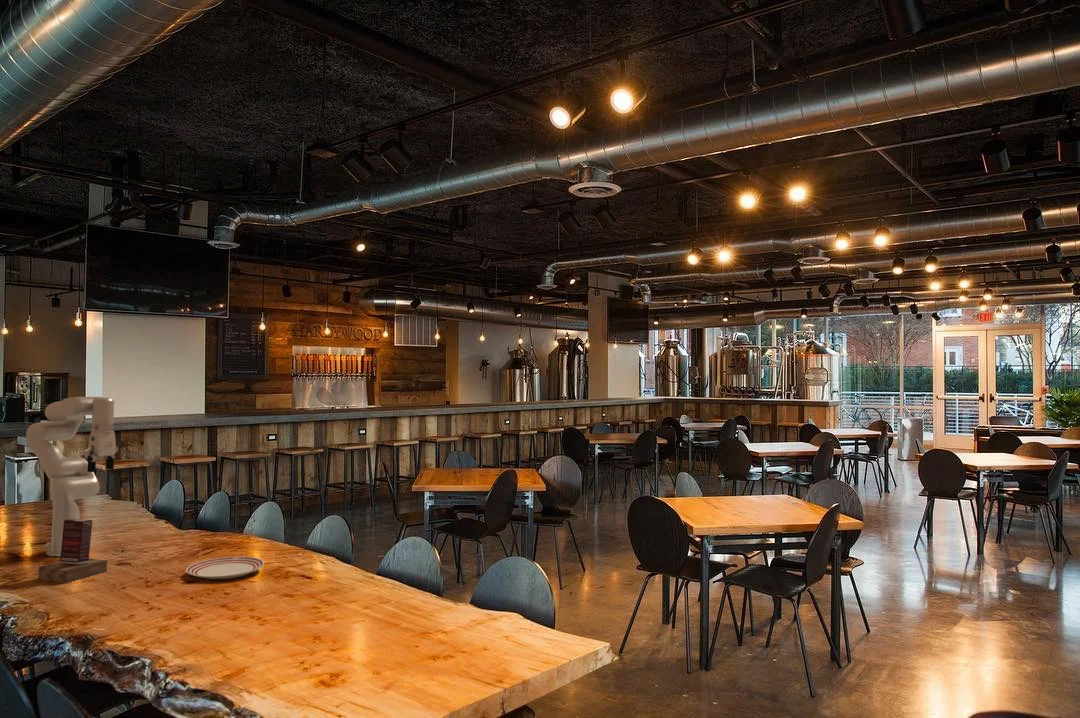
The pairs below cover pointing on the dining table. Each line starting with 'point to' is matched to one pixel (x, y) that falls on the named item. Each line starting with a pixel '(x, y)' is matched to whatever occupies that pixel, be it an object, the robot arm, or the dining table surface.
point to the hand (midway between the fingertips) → (100, 470)
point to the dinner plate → (225, 567)
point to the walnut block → (72, 571)
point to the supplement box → (76, 541)
